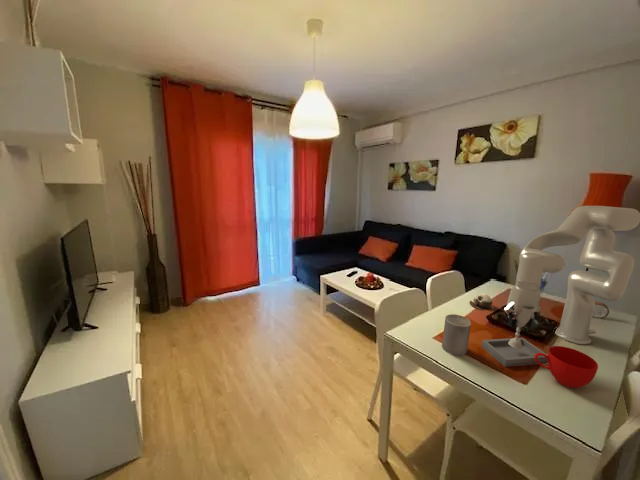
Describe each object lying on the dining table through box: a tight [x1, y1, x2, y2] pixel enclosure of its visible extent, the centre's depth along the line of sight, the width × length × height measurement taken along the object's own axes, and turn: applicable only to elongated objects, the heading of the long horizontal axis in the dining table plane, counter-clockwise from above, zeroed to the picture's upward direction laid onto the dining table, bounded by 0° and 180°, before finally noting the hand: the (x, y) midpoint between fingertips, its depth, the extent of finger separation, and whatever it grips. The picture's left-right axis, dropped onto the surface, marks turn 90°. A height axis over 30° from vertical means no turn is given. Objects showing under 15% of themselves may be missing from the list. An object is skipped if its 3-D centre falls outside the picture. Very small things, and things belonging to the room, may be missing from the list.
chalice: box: [508, 308, 532, 349], centre depth 109 cm, size 7×7×18 cm
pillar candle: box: [441, 314, 472, 357], centre depth 114 cm, size 10×10×15 cm
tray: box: [481, 337, 548, 368], centre depth 112 cm, size 19×13×3 cm
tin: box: [592, 300, 610, 319], centre depth 144 cm, size 15×3×8 cm, turn 58°
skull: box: [469, 293, 495, 312], centre depth 155 cm, size 12×10×10 cm
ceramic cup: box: [534, 345, 599, 389], centre depth 97 cm, size 13×17×10 cm
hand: (519, 326), depth 109 cm, fingers closed on chalice, 5 cm apart
